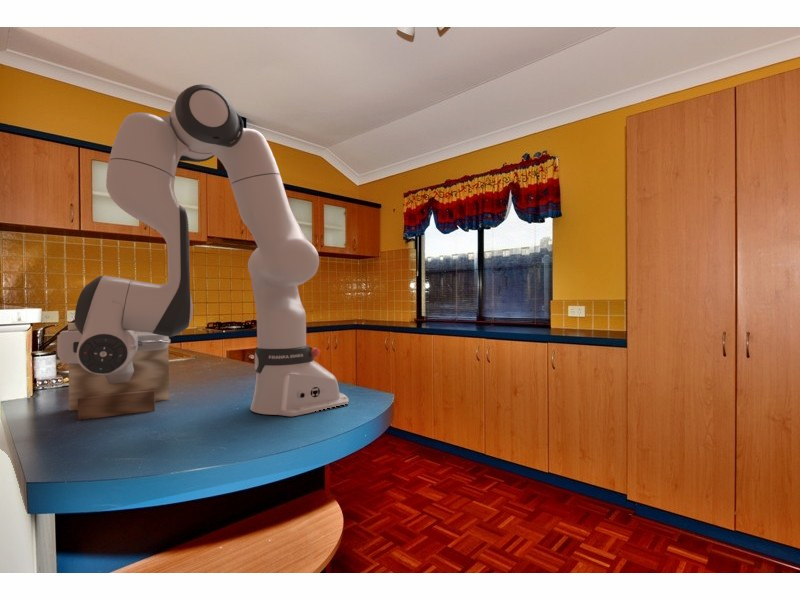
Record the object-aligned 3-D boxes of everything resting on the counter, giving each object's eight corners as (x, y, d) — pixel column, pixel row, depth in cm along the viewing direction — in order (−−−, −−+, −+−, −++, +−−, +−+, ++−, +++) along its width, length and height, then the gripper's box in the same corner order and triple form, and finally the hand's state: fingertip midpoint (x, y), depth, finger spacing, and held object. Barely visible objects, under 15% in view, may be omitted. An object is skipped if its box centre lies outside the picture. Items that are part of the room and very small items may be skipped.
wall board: (169, 397, 107) (168, 320, 106) (169, 399, 105) (168, 320, 105) (70, 408, 97) (69, 323, 96) (69, 410, 95) (67, 323, 95)
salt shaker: (139, 378, 99) (138, 324, 99) (124, 383, 94) (124, 326, 93) (113, 379, 99) (113, 324, 99) (97, 384, 93) (97, 326, 93)
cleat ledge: (155, 401, 103) (155, 383, 103) (154, 410, 95) (154, 390, 95) (85, 409, 96) (85, 389, 96) (77, 420, 88) (77, 398, 88)
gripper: (170, 327, 90) (170, 324, 102) (49, 331, 80) (64, 327, 92) (171, 356, 90) (170, 349, 102) (49, 364, 80) (64, 355, 92)
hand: (119, 339), depth 97 cm, fingers closed on salt shaker, 3 cm apart
